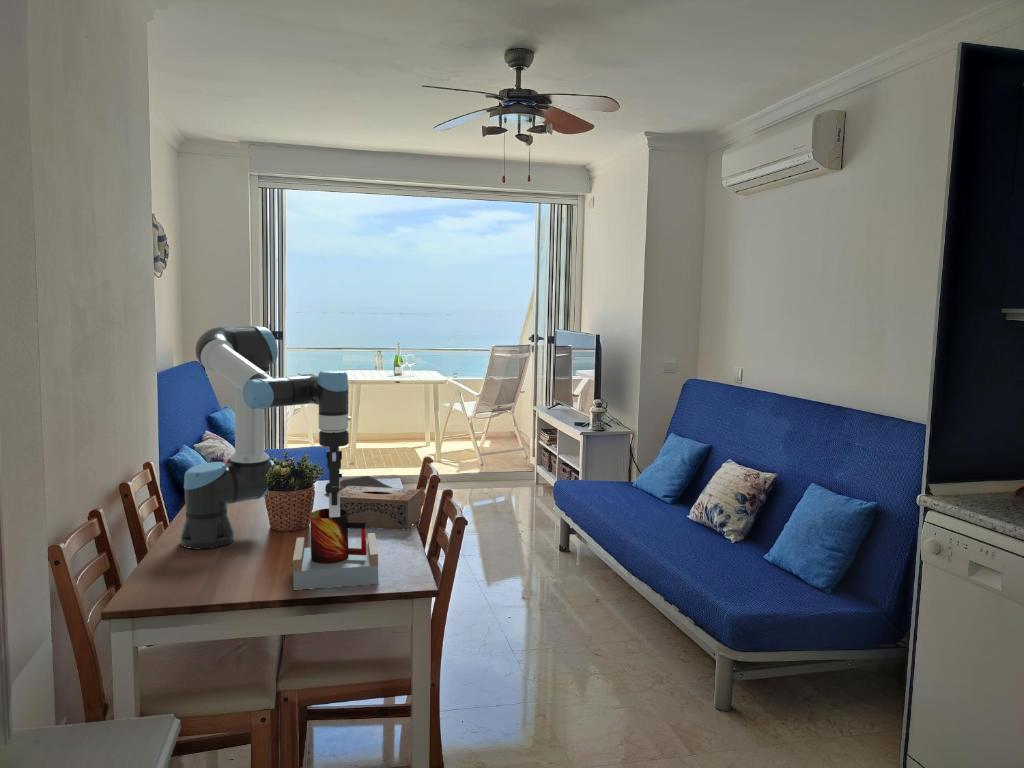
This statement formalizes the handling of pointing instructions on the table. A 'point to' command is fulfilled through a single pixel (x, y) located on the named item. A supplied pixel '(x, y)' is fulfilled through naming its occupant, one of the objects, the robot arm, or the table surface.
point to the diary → (360, 482)
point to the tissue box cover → (382, 506)
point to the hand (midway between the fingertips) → (334, 509)
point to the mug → (333, 537)
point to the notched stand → (335, 568)
